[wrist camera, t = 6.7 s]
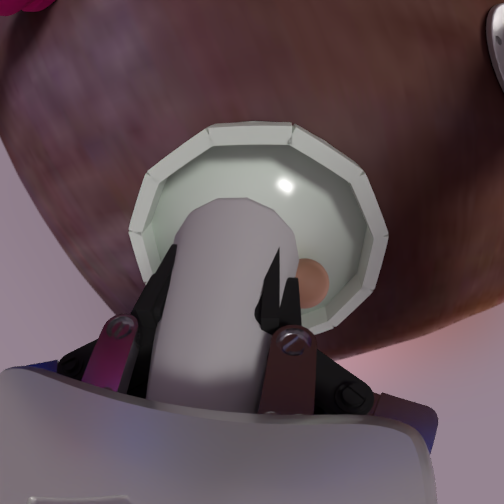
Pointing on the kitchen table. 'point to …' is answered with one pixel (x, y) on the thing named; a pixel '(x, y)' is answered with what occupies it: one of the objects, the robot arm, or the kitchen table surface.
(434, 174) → the kitchen table surface
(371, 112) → the kitchen table surface
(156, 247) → the tray
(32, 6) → the pepper mill
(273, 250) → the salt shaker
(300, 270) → the bead terracotta
